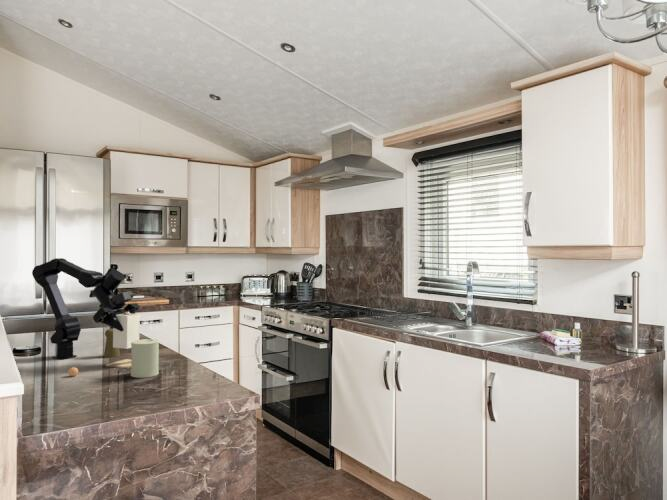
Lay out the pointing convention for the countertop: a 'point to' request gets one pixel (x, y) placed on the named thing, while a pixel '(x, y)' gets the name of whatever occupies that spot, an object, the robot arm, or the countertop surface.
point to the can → (144, 358)
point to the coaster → (121, 363)
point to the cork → (110, 346)
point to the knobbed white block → (126, 330)
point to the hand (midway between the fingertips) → (129, 329)
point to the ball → (73, 371)
